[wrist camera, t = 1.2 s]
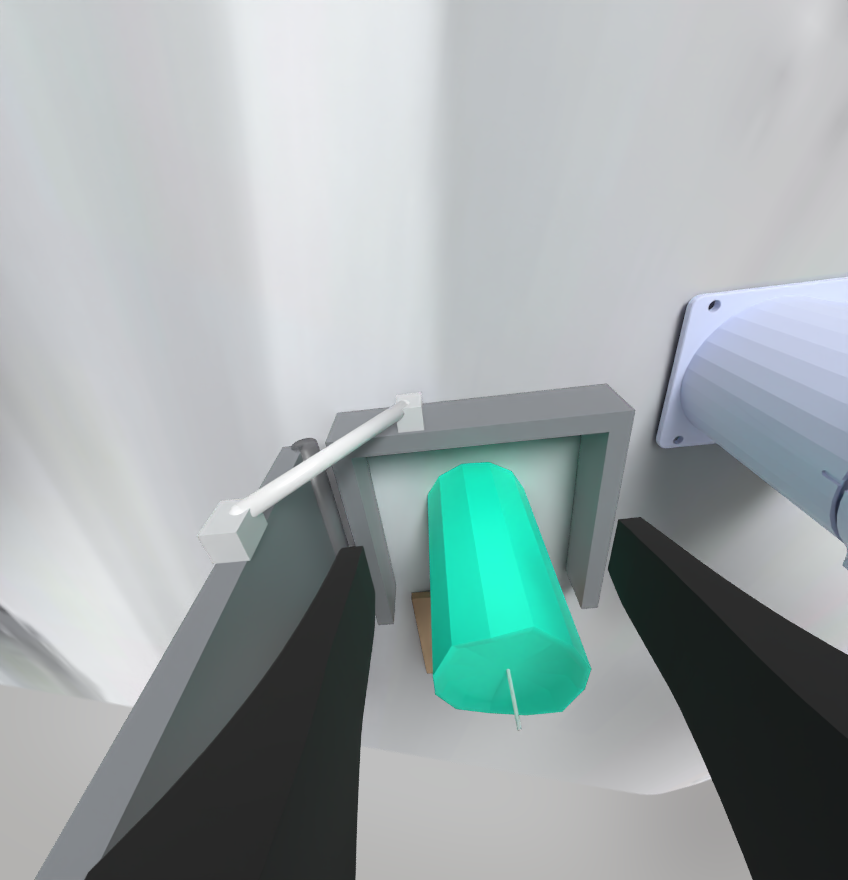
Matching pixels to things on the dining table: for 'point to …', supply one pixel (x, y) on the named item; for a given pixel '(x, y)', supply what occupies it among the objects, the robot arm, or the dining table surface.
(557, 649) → the candle
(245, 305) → the dining table surface
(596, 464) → the grey bracket
